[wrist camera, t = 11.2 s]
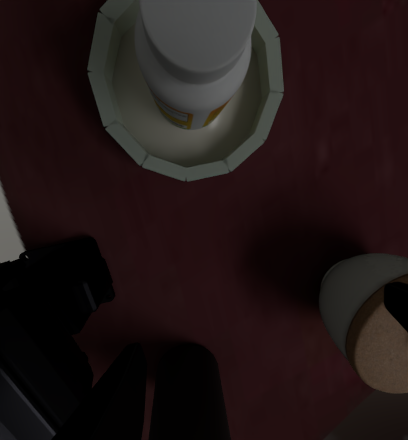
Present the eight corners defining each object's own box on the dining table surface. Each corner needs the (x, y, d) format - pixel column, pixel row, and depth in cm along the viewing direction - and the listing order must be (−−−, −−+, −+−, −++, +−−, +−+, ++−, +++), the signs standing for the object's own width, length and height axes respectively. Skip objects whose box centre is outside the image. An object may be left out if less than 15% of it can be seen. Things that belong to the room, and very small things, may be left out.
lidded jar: (289, 259, 22) (362, 327, 13) (387, 222, 22) (529, 264, 13) (310, 337, 25) (383, 437, 16) (397, 304, 25) (518, 385, 16)
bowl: (131, 190, 19) (124, 194, 16) (78, 8, 15) (59, -21, 13) (276, 160, 19) (289, 160, 17) (258, -23, 16) (271, -56, 13)
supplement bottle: (220, 47, 16) (274, -116, 7) (228, 126, 17) (281, 84, 8) (146, 56, 16) (93, -102, 6) (161, 135, 17) (136, 103, 8)
